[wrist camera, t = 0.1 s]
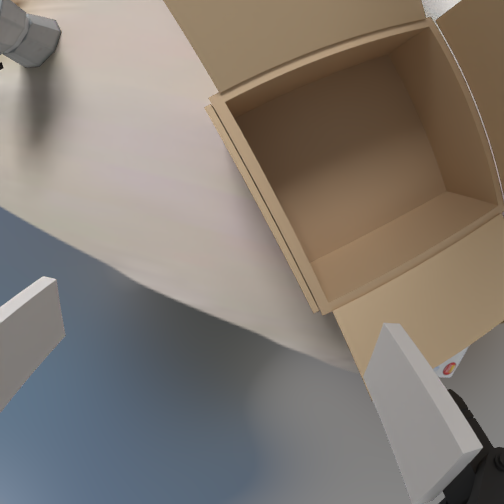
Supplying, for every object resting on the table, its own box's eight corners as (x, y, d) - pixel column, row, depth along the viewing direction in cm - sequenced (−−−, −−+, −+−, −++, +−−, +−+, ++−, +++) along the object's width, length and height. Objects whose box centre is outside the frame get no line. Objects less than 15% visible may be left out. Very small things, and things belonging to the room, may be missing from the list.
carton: (324, 324, 42) (356, 410, 26) (185, 62, 32) (137, 3, 16) (463, 247, 39) (539, 291, 22) (353, -4, 29) (401, -71, 12)
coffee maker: (35, 13, 28) (-34, -18, 10) (73, 6, 28) (4, -38, 11) (8, 94, 32) (-74, 87, 15) (43, 93, 32) (-45, 80, 15)
